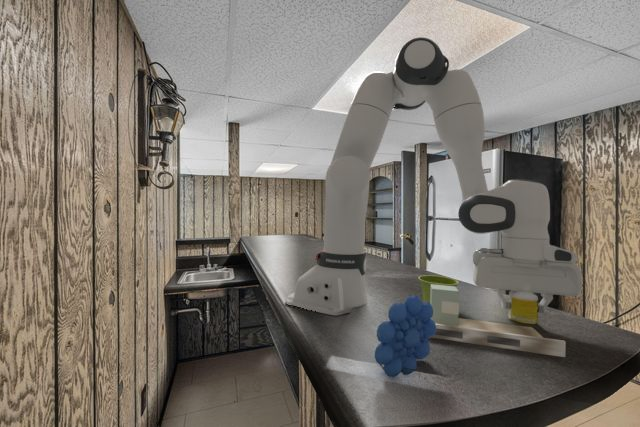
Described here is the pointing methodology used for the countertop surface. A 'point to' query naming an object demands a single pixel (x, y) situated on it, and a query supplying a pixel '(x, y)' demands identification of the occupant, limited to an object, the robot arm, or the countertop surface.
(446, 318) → the sage tin
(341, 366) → the countertop surface
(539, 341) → the shelf board
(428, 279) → the plant pot
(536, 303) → the supplement bottle
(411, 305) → the grapes
